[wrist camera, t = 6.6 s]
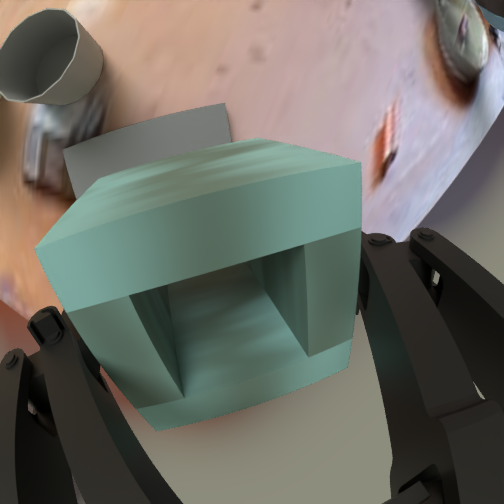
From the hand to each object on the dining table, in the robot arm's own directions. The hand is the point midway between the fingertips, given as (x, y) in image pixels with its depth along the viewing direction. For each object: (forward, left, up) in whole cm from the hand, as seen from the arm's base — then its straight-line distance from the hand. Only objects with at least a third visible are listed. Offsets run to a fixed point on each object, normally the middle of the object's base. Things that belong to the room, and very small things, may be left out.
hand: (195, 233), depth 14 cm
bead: (0, 0, 0) cm, 0 cm away
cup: (+10, -15, -18) cm, 26 cm away
